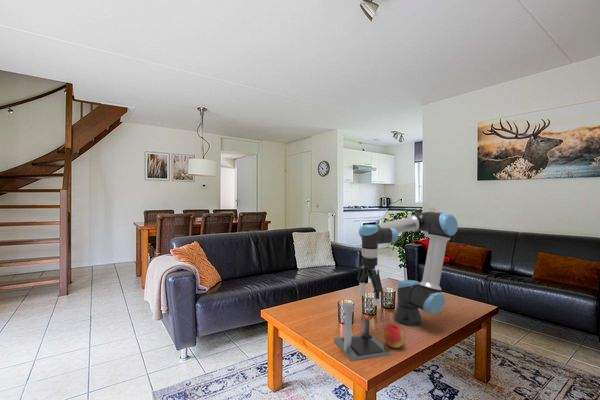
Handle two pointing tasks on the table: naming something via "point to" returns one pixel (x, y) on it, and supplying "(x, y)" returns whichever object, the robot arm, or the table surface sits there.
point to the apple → (394, 335)
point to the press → (358, 341)
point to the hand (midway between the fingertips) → (368, 300)
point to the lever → (366, 327)
